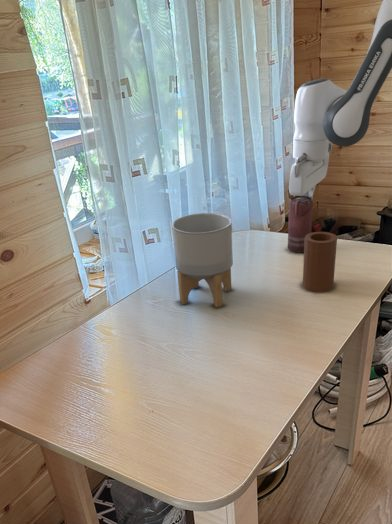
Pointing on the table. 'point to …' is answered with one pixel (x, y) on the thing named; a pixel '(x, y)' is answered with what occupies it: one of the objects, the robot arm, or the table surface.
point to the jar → (319, 261)
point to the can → (299, 222)
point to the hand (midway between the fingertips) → (307, 203)
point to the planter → (203, 253)
